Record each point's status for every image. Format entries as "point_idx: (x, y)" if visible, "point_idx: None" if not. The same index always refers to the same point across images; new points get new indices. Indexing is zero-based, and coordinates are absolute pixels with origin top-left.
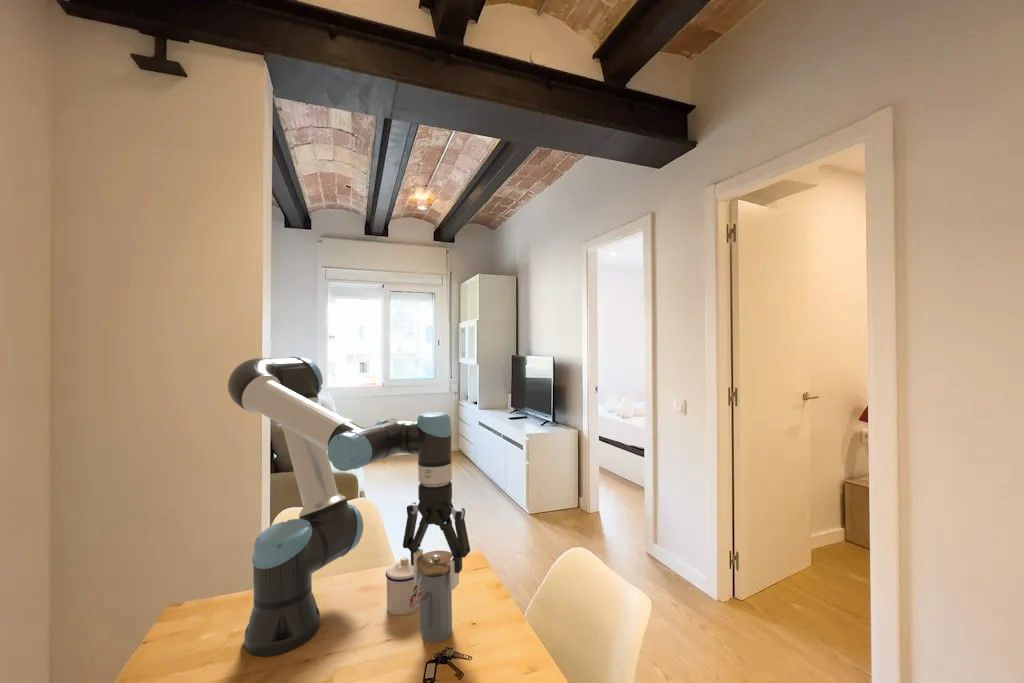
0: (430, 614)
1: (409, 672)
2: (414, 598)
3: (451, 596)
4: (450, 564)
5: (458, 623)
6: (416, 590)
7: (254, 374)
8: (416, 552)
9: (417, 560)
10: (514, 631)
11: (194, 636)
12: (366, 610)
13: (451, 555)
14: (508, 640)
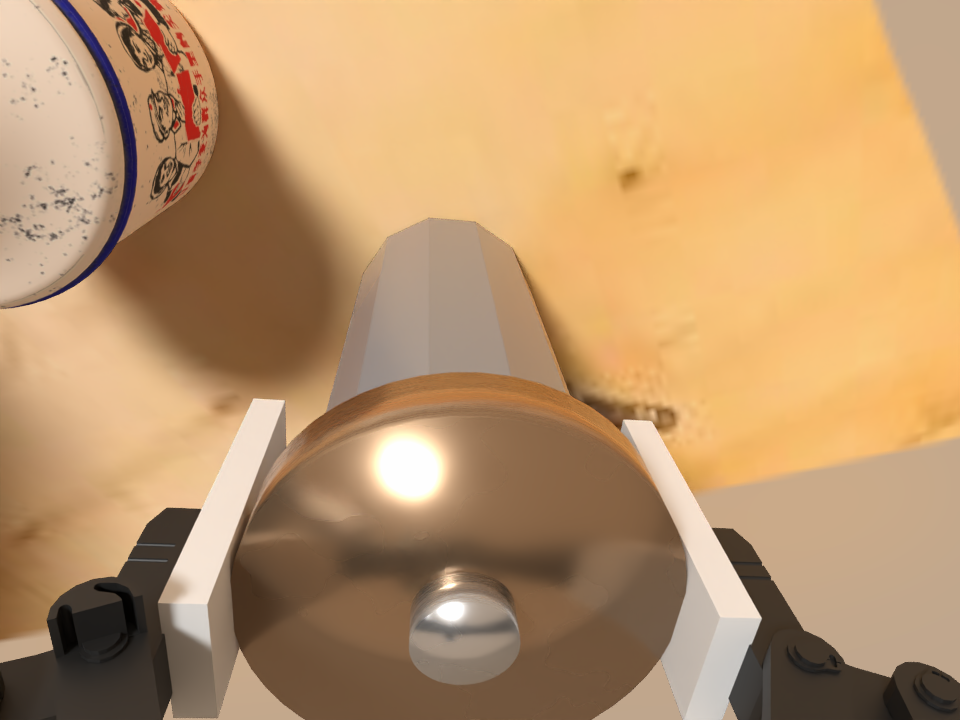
0: None
1: None
2: (181, 175)
3: (563, 378)
4: (668, 670)
5: (538, 199)
6: (169, 167)
7: None
8: (194, 694)
9: (262, 671)
10: (874, 196)
11: None
12: None
13: (617, 504)
14: (840, 273)
